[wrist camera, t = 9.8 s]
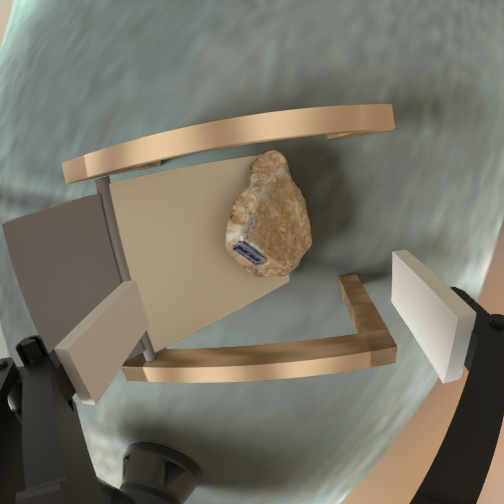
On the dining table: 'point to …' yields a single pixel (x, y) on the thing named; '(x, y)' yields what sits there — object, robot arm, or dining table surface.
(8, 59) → the dining table surface
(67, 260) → the trapdoor
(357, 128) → the frame
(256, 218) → the stone
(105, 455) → the dining table surface
